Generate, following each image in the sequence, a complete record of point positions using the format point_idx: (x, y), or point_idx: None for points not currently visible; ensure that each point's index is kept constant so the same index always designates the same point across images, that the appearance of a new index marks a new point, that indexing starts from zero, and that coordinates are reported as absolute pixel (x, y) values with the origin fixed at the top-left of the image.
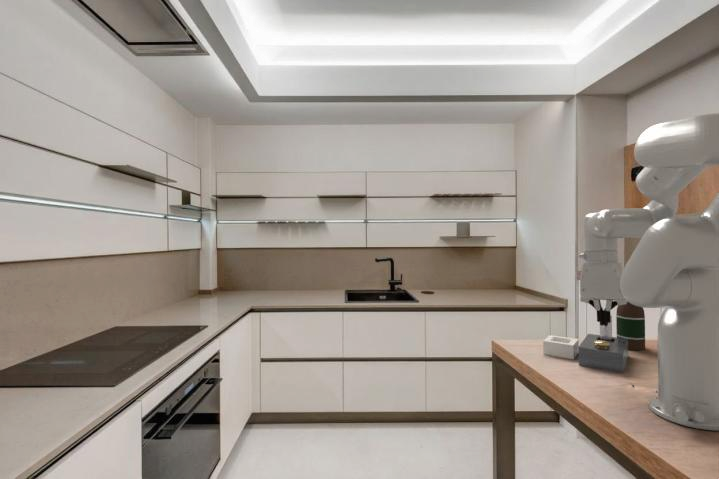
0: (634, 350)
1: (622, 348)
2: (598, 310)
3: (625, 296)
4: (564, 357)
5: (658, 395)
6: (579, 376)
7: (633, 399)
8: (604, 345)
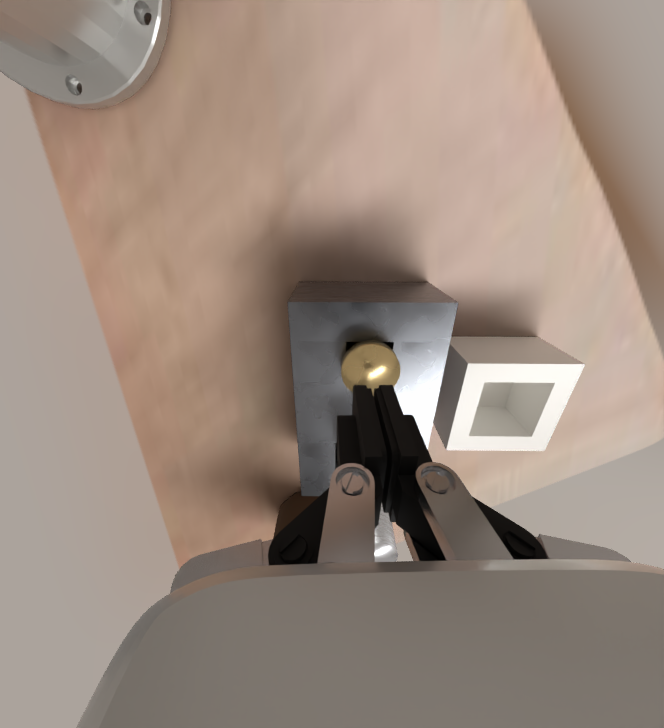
0: (299, 499)
1: (300, 380)
2: (425, 463)
3: None
4: (476, 341)
5: None
6: (425, 190)
7: (233, 17)
8: (358, 345)
